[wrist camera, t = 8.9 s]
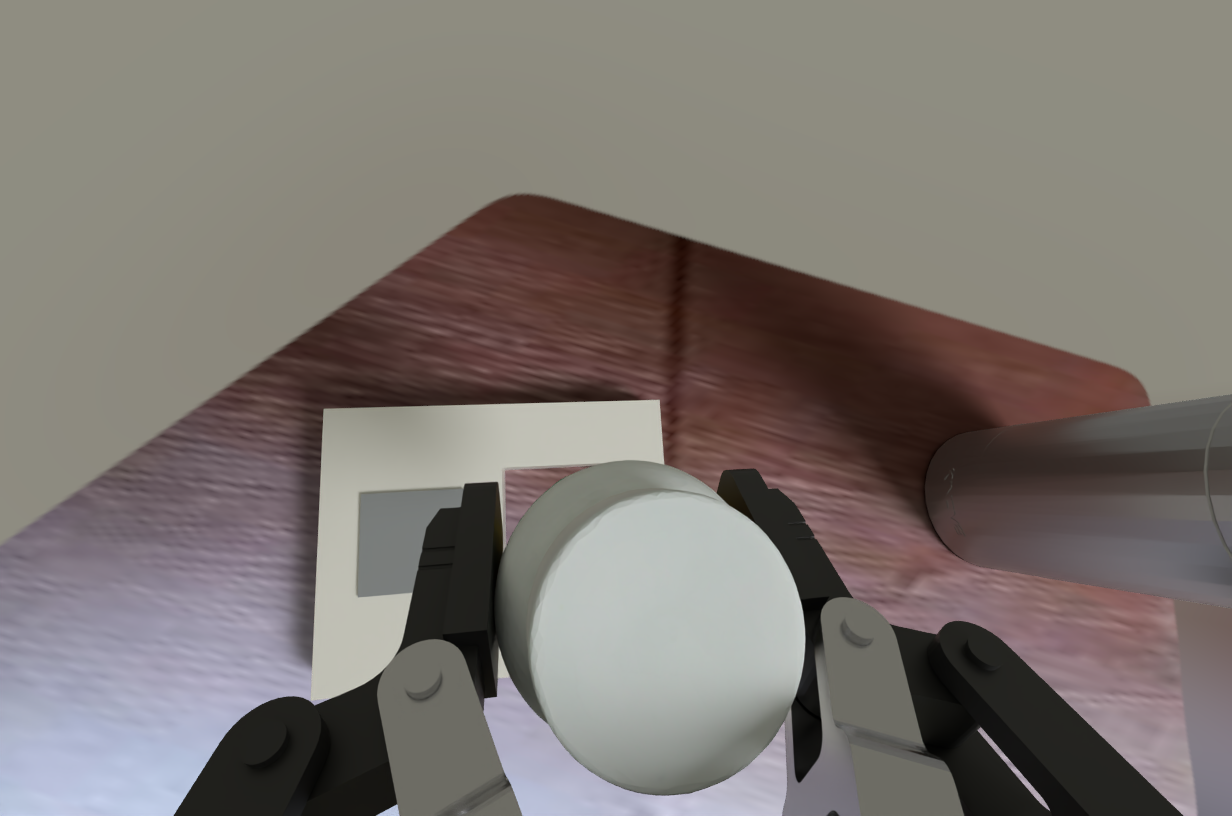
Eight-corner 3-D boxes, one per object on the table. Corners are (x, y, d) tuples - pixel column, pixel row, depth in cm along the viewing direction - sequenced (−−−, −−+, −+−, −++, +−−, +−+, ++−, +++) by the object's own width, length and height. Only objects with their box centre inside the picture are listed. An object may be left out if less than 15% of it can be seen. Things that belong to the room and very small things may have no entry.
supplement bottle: (653, 659, 16) (825, 898, 6) (489, 625, 15) (414, 832, 6) (687, 495, 17) (874, 494, 8) (536, 457, 16) (534, 403, 7)
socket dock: (649, 407, 31) (660, 399, 28) (665, 643, 28) (679, 658, 26) (342, 416, 28) (321, 408, 25) (332, 680, 25) (308, 702, 23)
